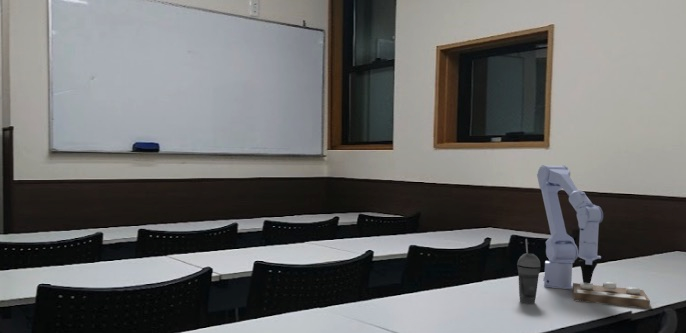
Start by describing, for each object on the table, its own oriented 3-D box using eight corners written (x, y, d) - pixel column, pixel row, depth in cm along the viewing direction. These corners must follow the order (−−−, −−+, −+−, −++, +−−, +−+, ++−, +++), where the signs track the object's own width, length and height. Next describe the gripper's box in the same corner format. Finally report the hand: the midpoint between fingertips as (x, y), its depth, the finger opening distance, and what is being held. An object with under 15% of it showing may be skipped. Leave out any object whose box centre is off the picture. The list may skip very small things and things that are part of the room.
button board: (573, 300, 193) (574, 291, 193) (572, 290, 209) (573, 282, 208) (649, 308, 186) (649, 299, 186) (642, 297, 201) (643, 289, 201)
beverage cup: (536, 306, 184) (538, 241, 183) (512, 302, 188) (515, 239, 187) (541, 301, 190) (544, 239, 189) (518, 298, 194) (521, 236, 193)
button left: (580, 288, 198) (580, 284, 198) (579, 286, 202) (580, 281, 202) (593, 290, 197) (593, 285, 197) (592, 287, 201) (592, 282, 201)
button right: (626, 293, 194) (626, 288, 194) (625, 291, 197) (625, 286, 197) (640, 294, 192) (640, 290, 192) (638, 292, 196) (638, 287, 196)
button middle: (603, 288, 196) (603, 283, 196) (602, 285, 200) (602, 281, 200) (616, 289, 195) (616, 284, 195) (615, 287, 198) (615, 282, 198)
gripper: (603, 246, 191) (601, 288, 191) (600, 240, 205) (598, 279, 205) (579, 244, 193) (577, 286, 194) (578, 238, 207) (576, 277, 207)
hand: (586, 282), depth 200 cm, fingers closed
